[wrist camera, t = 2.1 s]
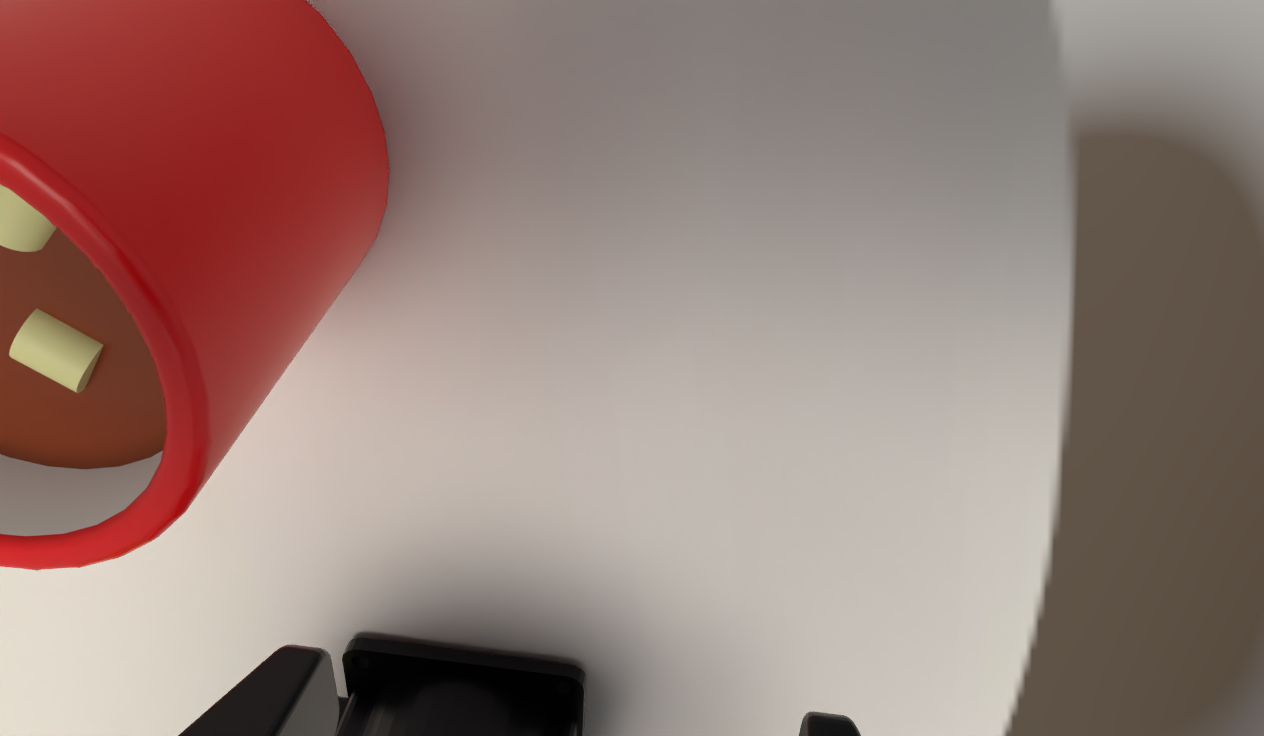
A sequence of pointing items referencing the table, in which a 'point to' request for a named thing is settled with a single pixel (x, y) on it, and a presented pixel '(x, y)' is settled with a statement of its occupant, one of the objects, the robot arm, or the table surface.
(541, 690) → the robot arm
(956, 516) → the table surface
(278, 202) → the mug
